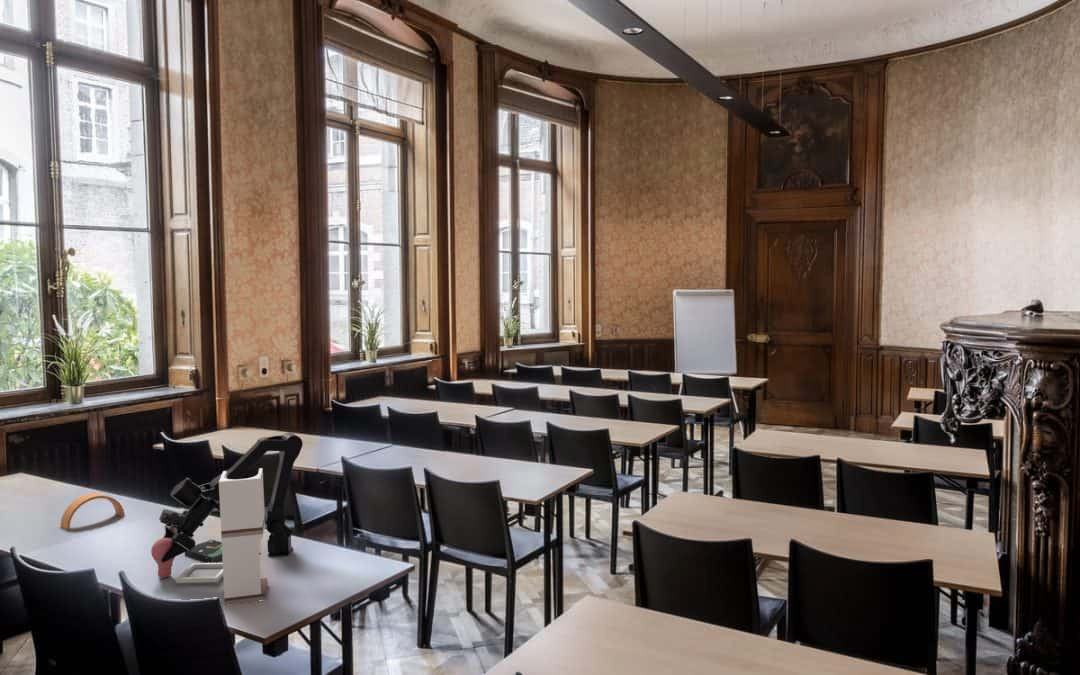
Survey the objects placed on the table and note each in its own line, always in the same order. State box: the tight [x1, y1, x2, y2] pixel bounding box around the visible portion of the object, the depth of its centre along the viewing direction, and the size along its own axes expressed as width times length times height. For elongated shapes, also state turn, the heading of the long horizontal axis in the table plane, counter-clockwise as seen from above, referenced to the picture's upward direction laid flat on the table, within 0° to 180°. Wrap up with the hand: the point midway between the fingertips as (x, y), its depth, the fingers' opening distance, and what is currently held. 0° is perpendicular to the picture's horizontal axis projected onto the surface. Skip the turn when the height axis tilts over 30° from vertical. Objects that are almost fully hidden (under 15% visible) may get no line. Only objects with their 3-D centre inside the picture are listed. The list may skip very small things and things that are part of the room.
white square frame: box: [175, 562, 224, 587], centre depth 233 cm, size 12×12×2 cm
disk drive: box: [184, 539, 223, 563], centre depth 251 cm, size 10×3×15 cm
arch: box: [60, 492, 126, 531], centre depth 285 cm, size 6×20×10 cm, turn 142°
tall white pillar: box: [219, 467, 269, 606], centre depth 219 cm, size 11×11×35 cm
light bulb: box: [150, 537, 176, 579], centre depth 233 cm, size 7×7×12 cm
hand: (159, 556), depth 232 cm, fingers open, 9 cm apart
